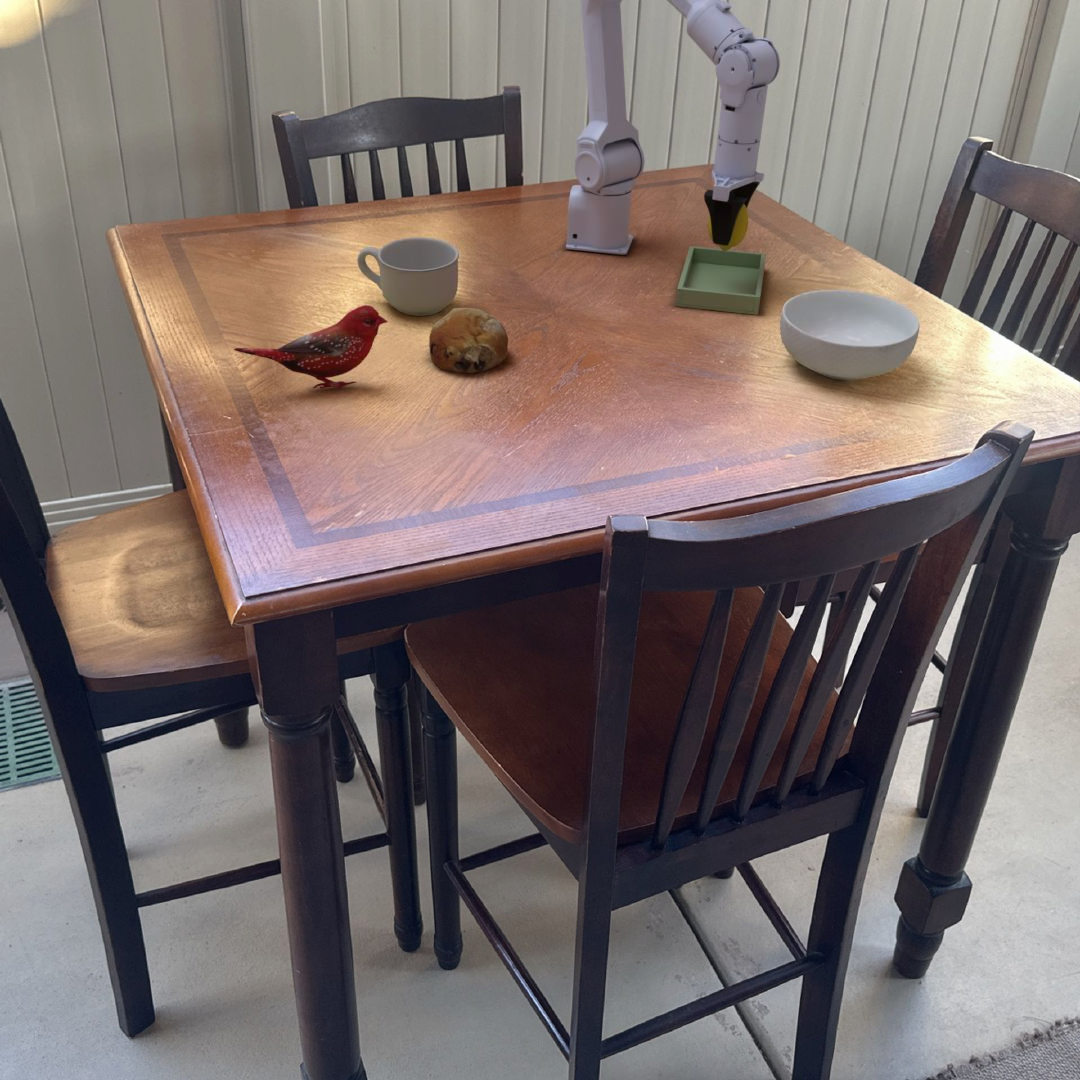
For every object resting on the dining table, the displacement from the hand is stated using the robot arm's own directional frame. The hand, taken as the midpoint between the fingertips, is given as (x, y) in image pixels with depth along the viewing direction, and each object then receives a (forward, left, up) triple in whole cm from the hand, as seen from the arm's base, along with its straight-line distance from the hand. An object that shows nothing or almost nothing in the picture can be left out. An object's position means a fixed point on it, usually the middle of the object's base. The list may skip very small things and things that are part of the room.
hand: (726, 237), depth 159 cm
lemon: (0, 0, -2) cm, 2 cm away
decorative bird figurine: (-44, -45, -8) cm, 63 cm away
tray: (0, 0, -8) cm, 8 cm away
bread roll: (-29, -32, -8) cm, 44 cm away
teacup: (-41, -18, -8) cm, 46 cm away
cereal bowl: (+17, -22, -8) cm, 29 cm away
